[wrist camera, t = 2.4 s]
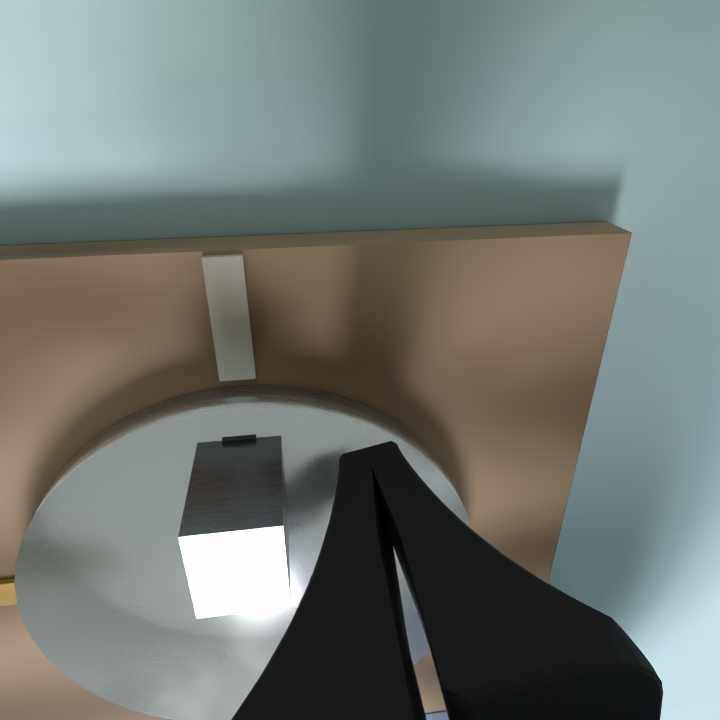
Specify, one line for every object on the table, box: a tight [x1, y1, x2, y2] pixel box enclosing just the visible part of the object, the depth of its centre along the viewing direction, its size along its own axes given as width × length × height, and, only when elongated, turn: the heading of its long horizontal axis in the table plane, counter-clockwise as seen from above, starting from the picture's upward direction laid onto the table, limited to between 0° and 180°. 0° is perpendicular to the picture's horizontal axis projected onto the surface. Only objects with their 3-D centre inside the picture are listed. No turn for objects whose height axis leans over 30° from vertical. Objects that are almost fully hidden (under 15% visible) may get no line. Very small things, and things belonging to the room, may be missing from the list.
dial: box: [14, 385, 472, 720], centre depth 15 cm, size 13×13×4 cm
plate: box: [0, 221, 632, 720], centre depth 17 cm, size 20×20×1 cm
